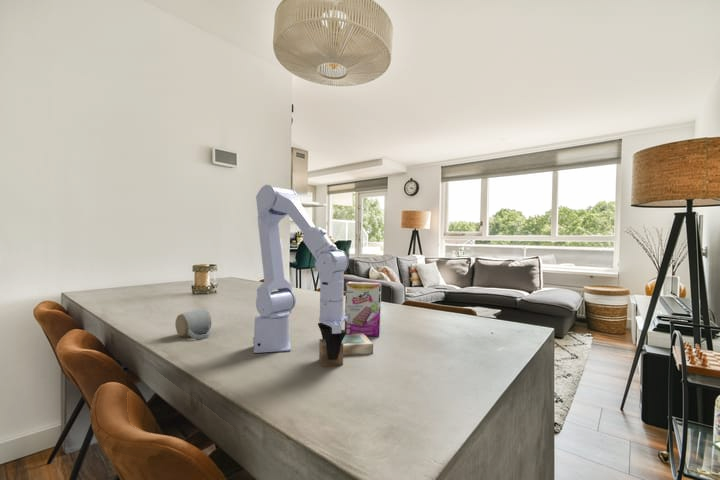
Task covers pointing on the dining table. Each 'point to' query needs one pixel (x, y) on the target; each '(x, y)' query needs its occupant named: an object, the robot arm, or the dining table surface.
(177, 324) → the ceramic mug
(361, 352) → the base
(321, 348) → the walnut cube
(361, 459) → the dining table surface
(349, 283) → the candy bar box
